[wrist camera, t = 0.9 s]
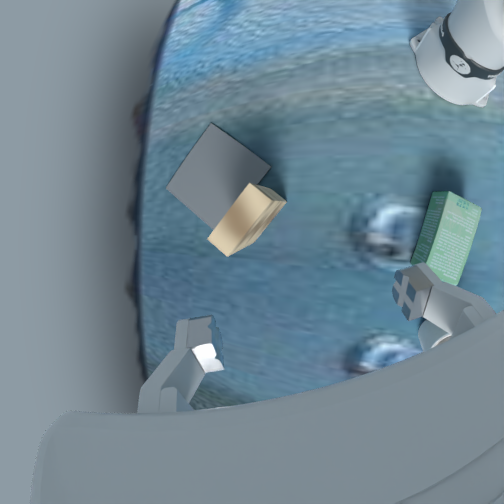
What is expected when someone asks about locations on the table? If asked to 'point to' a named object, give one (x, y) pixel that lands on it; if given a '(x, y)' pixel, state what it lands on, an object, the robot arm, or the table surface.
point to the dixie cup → (431, 335)
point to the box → (447, 235)
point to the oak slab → (246, 219)
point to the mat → (215, 175)
